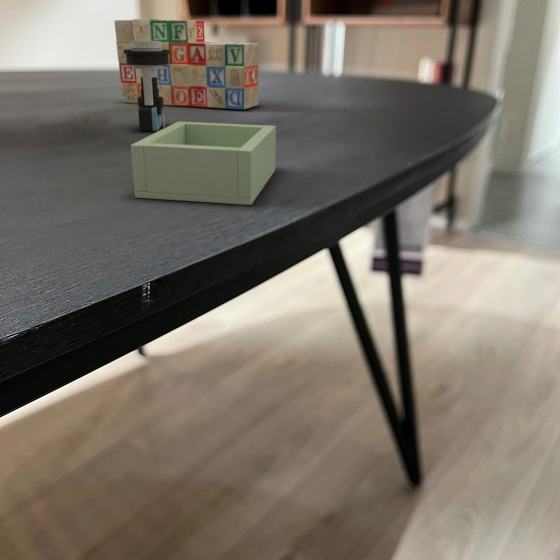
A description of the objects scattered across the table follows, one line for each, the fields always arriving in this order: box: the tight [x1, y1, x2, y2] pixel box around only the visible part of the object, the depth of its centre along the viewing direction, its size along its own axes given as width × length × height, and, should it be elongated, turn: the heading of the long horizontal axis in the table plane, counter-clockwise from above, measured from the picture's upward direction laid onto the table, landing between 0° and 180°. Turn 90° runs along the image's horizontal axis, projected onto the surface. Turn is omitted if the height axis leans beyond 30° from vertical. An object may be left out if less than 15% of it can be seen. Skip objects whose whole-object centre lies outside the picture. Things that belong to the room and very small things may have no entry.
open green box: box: [130, 121, 277, 206], centre depth 47 cm, size 9×11×4 cm
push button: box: [123, 40, 170, 132], centre depth 69 cm, size 7×5×10 cm
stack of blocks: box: [113, 18, 259, 110], centre depth 89 cm, size 21×6×12 cm, turn 71°
